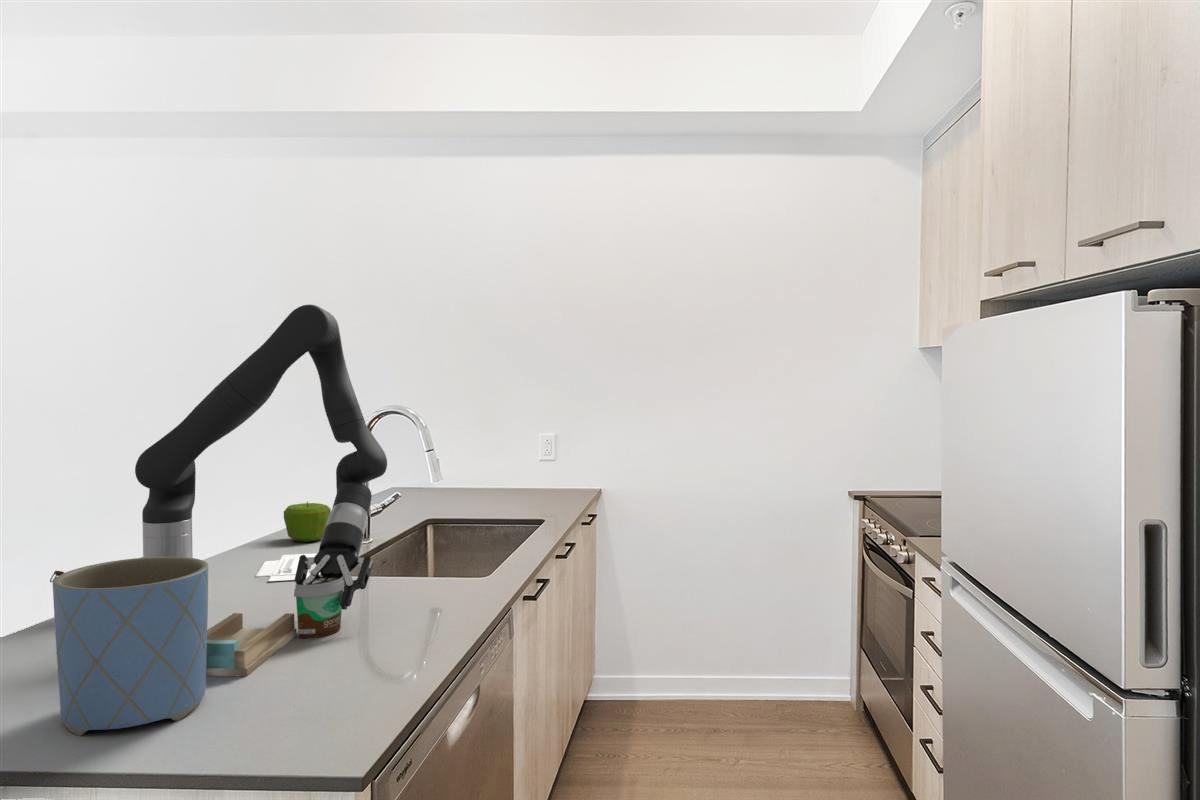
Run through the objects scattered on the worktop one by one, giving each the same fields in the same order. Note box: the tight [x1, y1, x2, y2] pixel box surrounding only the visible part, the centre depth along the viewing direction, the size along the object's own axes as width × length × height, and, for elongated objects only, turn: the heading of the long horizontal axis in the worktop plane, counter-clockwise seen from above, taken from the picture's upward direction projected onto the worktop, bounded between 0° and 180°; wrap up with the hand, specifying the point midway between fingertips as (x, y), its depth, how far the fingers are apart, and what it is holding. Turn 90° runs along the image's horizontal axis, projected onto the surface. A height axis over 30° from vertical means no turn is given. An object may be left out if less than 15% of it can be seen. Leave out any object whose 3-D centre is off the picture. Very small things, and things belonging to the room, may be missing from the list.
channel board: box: [206, 612, 298, 677], centre depth 137 cm, size 12×20×5 cm, turn 179°
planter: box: [52, 557, 209, 736], centre depth 114 cm, size 19×19×20 cm
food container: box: [293, 576, 347, 639], centre depth 149 cm, size 12×6×10 cm, turn 169°
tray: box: [255, 552, 321, 583], centre depth 199 cm, size 20×28×4 cm
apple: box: [283, 501, 332, 543], centre depth 231 cm, size 12×12×11 cm
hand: (323, 607), depth 147 cm, fingers closed on food container, 6 cm apart
